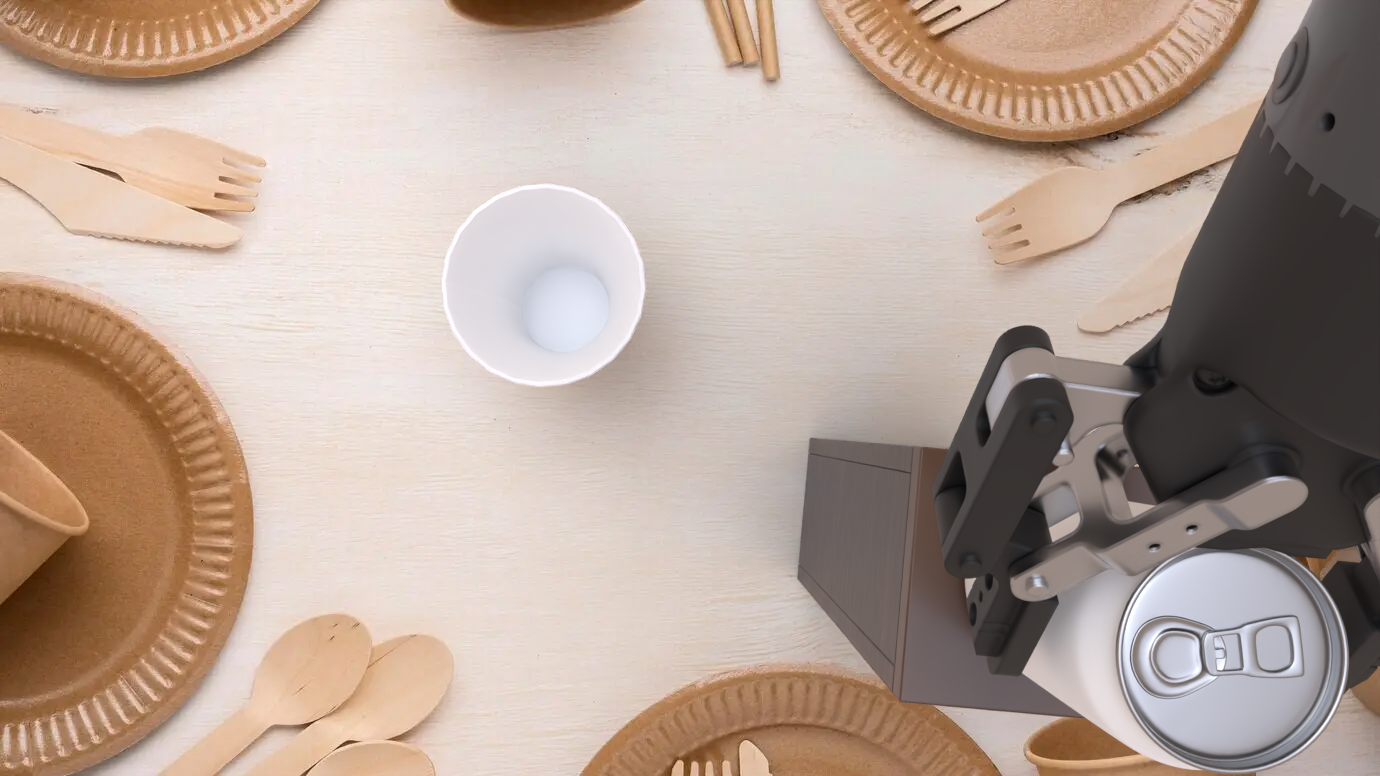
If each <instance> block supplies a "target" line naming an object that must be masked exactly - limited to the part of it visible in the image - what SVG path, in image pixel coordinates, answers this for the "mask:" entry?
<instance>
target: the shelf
mask: <svg viewBox="0 0 1380 776" xmlns="http://www.w3.org/2000/svg"><path fill="white" fill-rule="evenodd" d="M914 446H915V447H914V448H913V459H912V471H911V483H910V495H909V506H908V518H907V530H906V542H905V554H904V565H903V577H902V589H901V601H900V613H899V625H898V636H897V648H896V660H895V672H894V684H893V693H892V695H893V696H894V697H895V698H896V699H897V700H898V702H900V703H903V704H915V705H923V706H925V705H926V706H936V707H946V708H947V707H948V708H959V709H969V710H981V711H990V712H991V711H992V712H993V711H994V712H1003V713H1014V714H1024V715H1025V714H1026V715H1036V716H1048V717H1049V716H1050V717H1061V718H1070V719H1081V720H1087V719H1086V718H1085V717H1084V716H1082V715H1081V714H1079V713H1078V712H1076V711H1075V710H1074V709H1072V708H1071V707H1069V706H1068V705H1066V704H1065V703H1064V702H1062V701H1061V700H1059V699H1058V698H1056V697H1055V696H1054V695H1052V694H1051V693H1049V692H1048V691H1047V690H1045V689H1044V688H1042V687H1041V686H1039V685H1038V684H1037V683H1035V682H1034V681H1032V680H1031V679H1030V678H1028V677H1027V676H1025V675H1024V674H1023V673H1022V674H1021V675H1020V676H1019V677H1013V676H1001V675H992V674H991V673H990V671H989V668H988V663H987V658H986V656H980V655H976V652H975V648H974V644H973V638H972V632H971V626H970V620H969V615H968V609H967V603H966V599H967V597H966V590H965V579H963V578H958V577H954V576H952V575H950V574H949V573H948V572H947V571H946V569H945V567H944V561H943V555H942V549H941V542H940V536H939V530H938V523H937V517H936V511H935V504H934V498H933V492H932V486H933V483H934V481H935V479H936V477H937V474H938V472H939V470H940V468H941V465H942V463H943V461H944V459H945V456H946V454H947V452H948V450H949V448H944V447H943V448H941V447H933V446H932V447H931V446H921V445H920V446H919V445H914ZM1058 467H1059V466H1055V465H1053V464H1052V463H1051V465H1050V467H1049V468H1048V470H1047V472H1046V474H1045V476H1046V475H1048V474H1050V473H1052V472H1053V471H1055V470H1056V469H1057V468H1058ZM1045 476H1044V477H1045ZM1123 488H1124V492H1125V495H1126V498H1127V501H1129V502H1136V503H1142V504H1148V505H1154V506H1156V505H1157V504H1156V502H1155V500H1154V498H1153V495H1152V493H1151V491H1150V489H1149V487H1148V485H1147V483H1146V481H1145V478H1144V476H1143V474H1142V472H1141V470H1140V468H1139V466H1138V465H1135V466H1133V467H1132V468H1131V469H1130V470H1129V471H1128V472H1127V474H1126V476H1125V478H1124V481H1123Z"/></svg>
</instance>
